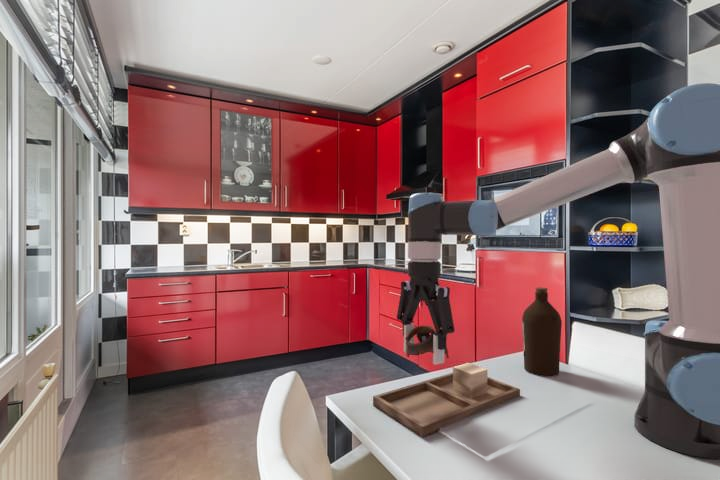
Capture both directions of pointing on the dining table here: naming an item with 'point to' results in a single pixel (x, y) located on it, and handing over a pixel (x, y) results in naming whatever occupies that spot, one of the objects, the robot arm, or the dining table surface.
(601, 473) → the dining table surface
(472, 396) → the beech block
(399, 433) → the dining table surface
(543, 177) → the robot arm
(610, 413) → the dining table surface
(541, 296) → the olive oil
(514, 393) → the walnut tray
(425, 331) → the pottery mug
